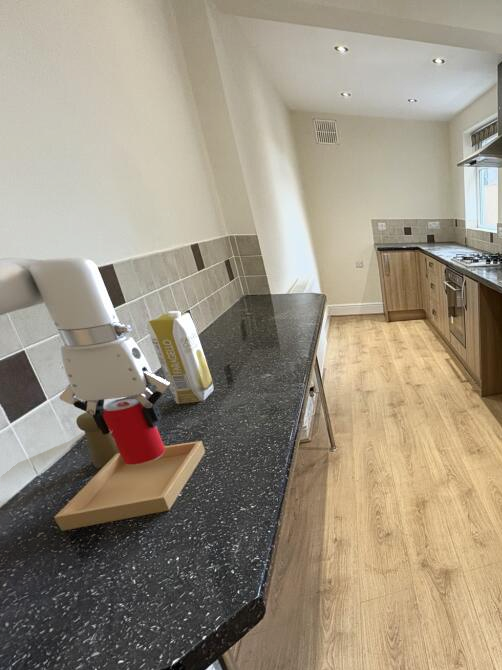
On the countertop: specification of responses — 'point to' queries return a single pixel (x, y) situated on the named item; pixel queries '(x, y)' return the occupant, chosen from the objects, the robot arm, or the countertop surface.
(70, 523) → the tray
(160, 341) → the juice carton
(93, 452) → the pepper shaker
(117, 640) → the countertop surface
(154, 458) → the beverage can
